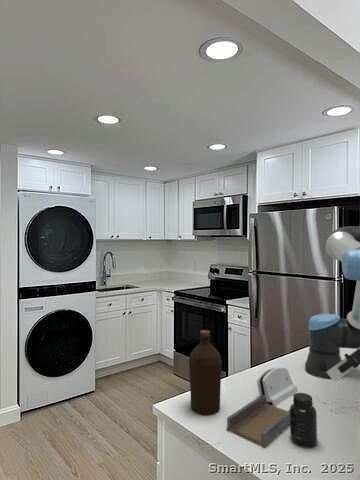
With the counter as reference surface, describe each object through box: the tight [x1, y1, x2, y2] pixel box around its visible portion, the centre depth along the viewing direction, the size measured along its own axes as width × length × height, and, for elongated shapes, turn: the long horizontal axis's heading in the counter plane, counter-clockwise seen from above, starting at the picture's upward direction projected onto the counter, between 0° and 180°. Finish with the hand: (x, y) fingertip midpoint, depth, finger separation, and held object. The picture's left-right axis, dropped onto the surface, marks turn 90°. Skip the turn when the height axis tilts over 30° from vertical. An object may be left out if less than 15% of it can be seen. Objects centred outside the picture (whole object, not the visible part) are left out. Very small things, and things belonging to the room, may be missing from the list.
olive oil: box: [188, 329, 223, 416], centre depth 109 cm, size 11×11×25 cm
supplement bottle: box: [289, 392, 318, 448], centre depth 90 cm, size 7×7×12 cm
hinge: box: [256, 367, 299, 407], centre depth 118 cm, size 17×5×10 cm, turn 133°
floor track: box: [226, 395, 290, 448], centre depth 99 cm, size 20×12×4 cm, turn 136°
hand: (340, 369), depth 84 cm, fingers open, 13 cm apart
